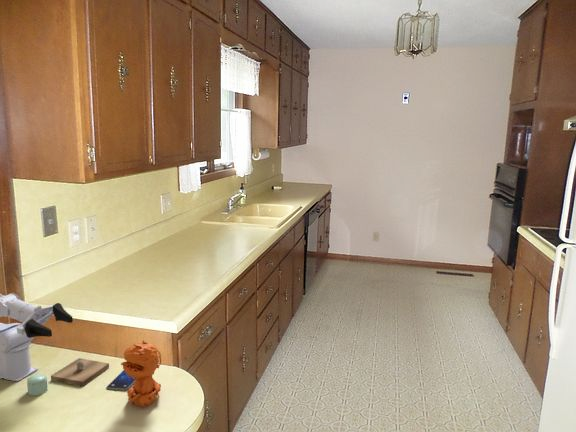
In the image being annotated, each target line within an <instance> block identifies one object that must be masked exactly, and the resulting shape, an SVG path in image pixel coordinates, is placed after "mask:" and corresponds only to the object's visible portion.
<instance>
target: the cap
mask: <svg viewBox="0 0 576 432" xmlns="http://www.w3.org/2000/svg"><path fill="white" fill-rule="evenodd" d="M26 384H27V395H28V396H34V397H36V396H39V395H43V394H44V393H46V392H47V391H48V389H47V388H49V387H48V379H47V375H46V373H35V374H33V375H31V376H29V377H28V378H27V379H26Z"/></svg>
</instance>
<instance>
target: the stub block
mask: <svg viewBox="0 0 576 432" xmlns="http://www.w3.org/2000/svg"><path fill="white" fill-rule="evenodd" d="M109 368H110V363H108V362H104V361H97V360H91V359H86V358H77V359H74V360H73V361H72V362H71V363H69V364H67V365H66V366H65V367H64V366H63V368H61V369H59V370H57V372H54V373H53V374H51V375H50V380H51V381H54V382H59V383H64V384H70V385H75V386H80V387H84V386H85V385H87V384H89V383H90V382H91V381H93V380H94V379H96V378H97V377H98V376H99V375H101V374H102V373H104V372H106V370H108V369H109Z"/></svg>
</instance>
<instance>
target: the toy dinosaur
mask: <svg viewBox="0 0 576 432" xmlns="http://www.w3.org/2000/svg"><path fill="white" fill-rule="evenodd" d="M132 344H133V345H131V346H129V347H127V348H126V349H125V350H124V352H123V356H124V360H125V361H122V362H120V366H122V369H123V370H124V371H125V372H126V374H127V375H128V376H131V377H132V378H133V379H136V380H135V382H134V385H133V386H132V387H131V388H130V389H129V390H127V391H126V396H127V402H129V403H130V405H132V403H133V404H134V405H135V406H138V405H139V407H144V406H148V405H151V404H152V403H153V402H155V399H156V397H158V398H160V395H159V394H160V393H159V392H161V388H162V385H161V384H162V383H158V382H157V381H156V380H155V378H154V377H153V376H154V374H155V372H156V370H157V369H159V368H160V366H161V365H162V356H161V355H162V354H161V352H160V351H159V349H158V348H157V347H156V346H155V345H154V344H152V343H148V342H145V341H144V340H142V343H135V342H133V343H132Z"/></svg>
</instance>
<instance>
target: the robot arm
mask: <svg viewBox="0 0 576 432" xmlns="http://www.w3.org/2000/svg"><path fill="white" fill-rule="evenodd" d="M53 316H54V317H55V318H54V319H55V321H56V322H58V321H59V322H60V321H61V322H65V323H69V324H71V323H73V315H71V314H70V313H68V312H67V311H66V309H65V308H64V307H63V305H62V304H61V303H59V302H57V303H55V304H52V305H47V306H43V307H42V306H41V305H34V304H31V303H29V302H27V301H23V300H21V298H20V296H19V295H17V294H16V293H13V292H10V293H9V294H7V295H4V294H3V295H2V293H0V318H3V317H5V318H7V317H8V318H11V319H14V320H16V321H18V322H13V323H4V322H0V379H2V378H4V379H3V380H9V381H14V382H19V381H21V380H22V379H24V378H26V377H27V376H29V375H31V374H33V373H34V372H36V371H38V370H39V369H38V367H36V366H35V367H34V366H32V364H31V363H32V362H31V352H30V345H31V344H32V340H34V338H36V337H48V338H50V337H52V336H53V333H52V331H53V330H52V329H50V328H49V327H47V326H45V324H46V322H48V321H49V320H50V319H51V317H53ZM19 322H20V323H19Z"/></svg>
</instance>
